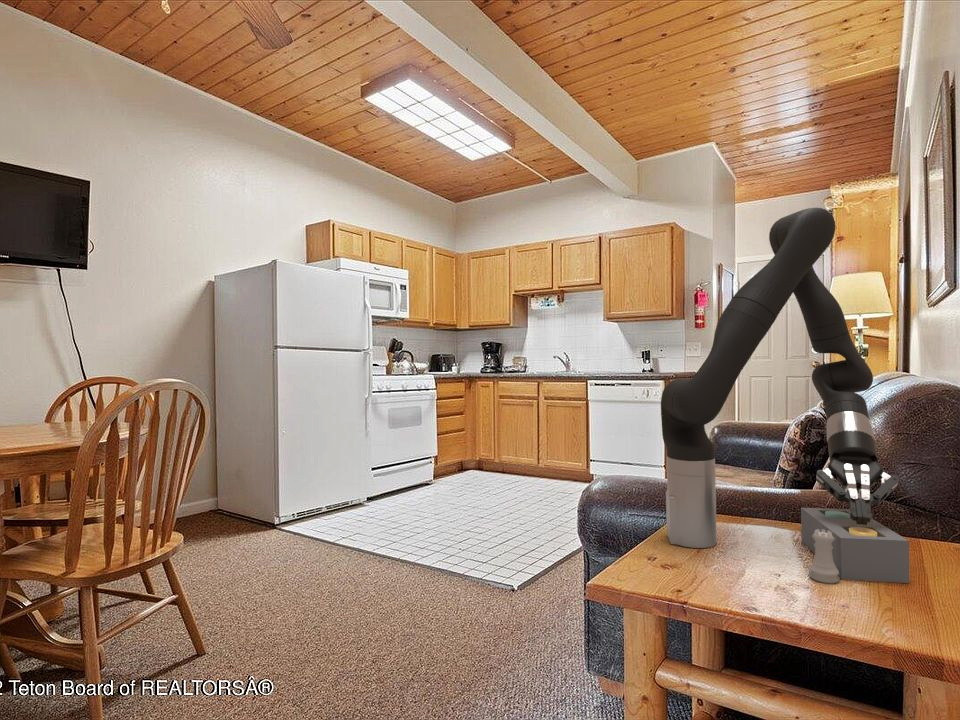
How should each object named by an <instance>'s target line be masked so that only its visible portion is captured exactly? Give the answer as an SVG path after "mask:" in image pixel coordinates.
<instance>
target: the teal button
mask: <svg viewBox="0 0 960 720" xmlns="http://www.w3.org/2000/svg"><path fill="white" fill-rule="evenodd" d="M825 516H827V517H828V518H847V519H850V514H848V513H845V512H841V511H826V512H825Z"/></svg>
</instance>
